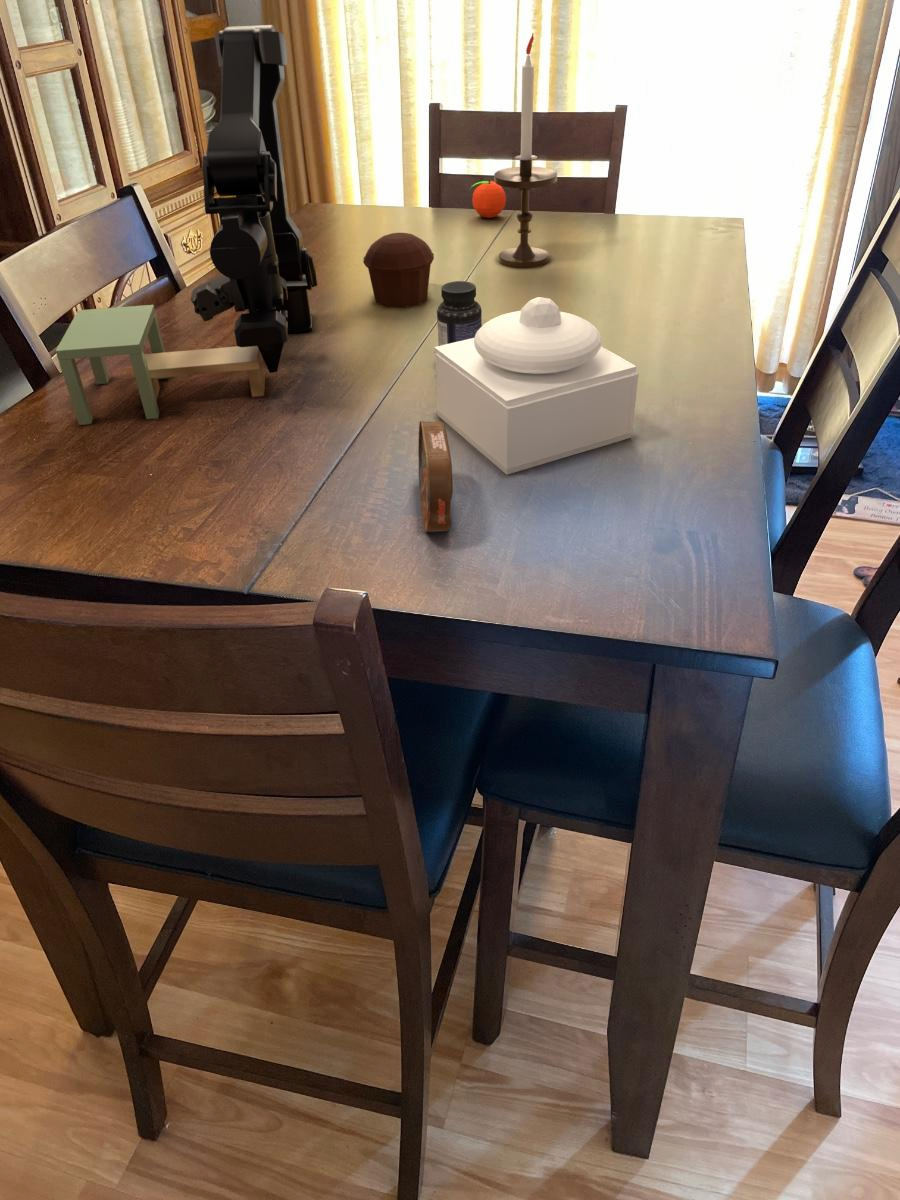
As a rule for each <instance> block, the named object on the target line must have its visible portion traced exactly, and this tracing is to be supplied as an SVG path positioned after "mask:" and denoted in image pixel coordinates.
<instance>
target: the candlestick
mask: <svg viewBox="0 0 900 1200" xmlns="http://www.w3.org/2000/svg"><path fill="white" fill-rule="evenodd" d="M534 40H535V37H534V32H532V33H531V37H530V39H529V40H528V43H527V46H526V49H525V51H526V56H525V57H526V59H525V62H524V65H522V66H521V67H522V68H521V113H520V114H521V115H520V119H521V120H520V124H521V125H520V154H519V155H515V156H514V159H515V160H518V161H519V166H514V167H507V168H502V169H500V170H497V171H495V172H494V175H493V181H494V182H495V183H496V184H498V185H500V186H501V187H504V188H510V189H511V188H512V189H517V190H518V191H520V193H521V194H520V197H521V198H520V205H521V206H520V212H519V213H517V214H516V218H517V219H516V220H517V221H518V222H519V228H517V233H518V234H520V242H519V244H518V245H517V247H510V248H506V249H504V250H502V251H500V252H499V253H498V261H499V263H500V264H502V265H504V266H507V267H511V268H519V269H520V268H521V269H522V268H535V267H540V266H543V265H545V264H547V263H548V262H549V260H550V259H549V258H550V257H549V256H550V254H549V252H548V251H547V250H545V249H543V248H540V247H539V248H538V247H532V246H530V244H529V234H530V233H532V229H531V228H530V222H531V221H532V219H533V213H531V212H530V209H529V207H530V191H532V190H534V189H536V188H537V189H538V188H545V187H548V186H553V185H554V184H556V183H557V182H558V172H557V171H556V170H554V169H552V168H547V167H542V166H533V160H537V159H538V158H539V157H538V156H537V155H534V154H533V120H534V119H533V116H534V111H533V110H534V81H535V80H534V79H535V77H534V75H535V66H534V65H532V60H531V52H532V48H533V42H534Z"/></svg>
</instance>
